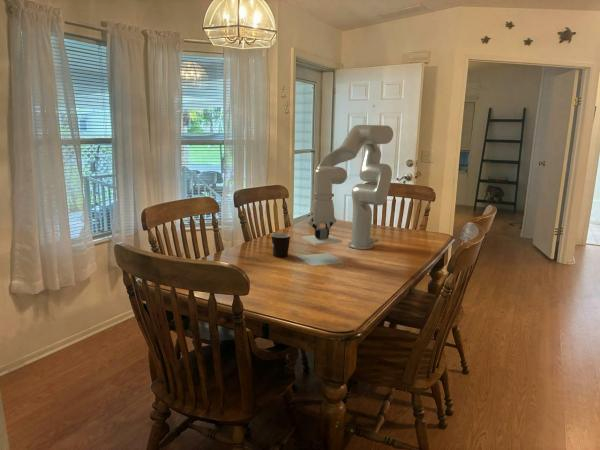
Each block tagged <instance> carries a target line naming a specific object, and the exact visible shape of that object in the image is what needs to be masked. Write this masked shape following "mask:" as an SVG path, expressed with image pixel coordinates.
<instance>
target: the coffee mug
mask: <svg viewBox="0 0 600 450" xmlns="http://www.w3.org/2000/svg"><path fill="white" fill-rule="evenodd" d="M270 238H271V245H272V247H271V248H272V256H273V257H274V258H277V259H279V258H280V259H281V258H287V257H288V255H289V247H290V243H291V242H290V241H291V235H290V234H288V233H283V232H277V233H272V234H271V237H270Z"/></svg>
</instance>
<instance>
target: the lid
mask: <svg viewBox="0 0 600 450" xmlns="http://www.w3.org/2000/svg"><path fill="white" fill-rule="evenodd" d="M319 230H320V239H317V238H316V237H315V234H310V235H303V236H302V240H304V241H305V242H308V243H309V244H311V245H313V246H315V247H317V246H324V245H325V246H326V245H327V246H328V245H334V244H335V245H336V244H342V242H343V241H342V239H339V238H338V237H336V236H334V235H331V234H330V233H329V236H328V238H327V232H328V229H326V228H325V226H324V227H319Z"/></svg>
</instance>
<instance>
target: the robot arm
mask: <svg viewBox="0 0 600 450" xmlns="http://www.w3.org/2000/svg"><path fill="white" fill-rule="evenodd" d="M393 138H394V131H393V128H392V127H391V126H389V125H381V124H380V125H378V124H377V125H376V124H356V125H354V126H353V127H352V128H351V129H350V130H349V132H348V133H347V135H346V137H345V139H344V140H343V142H341V144H340V146H339V147H338V148H335V149H334V150H333V151H331V152H330V153H327V154H326V155H325V157H323V158H322V159H321V161H320V163H319V164H318V166H317V168H316V169H315V170H314V181H313V182H314V183H313V185H314V186H313V187H314V188H313V189H314V190H313V195H314V196H313V199H312V200H311V204H310V209H309V210H310V212H309V220H308V221H307V224H308V225H309V226H311V227H312V228H313V229H314V235H315V237H316V238H317V239H320V230H319V228H320V226H321V224H324V228H326V229H328V232H327V238H328V236H329V234H330V229H331V227H332V226H333V225H334V224H336V223H337V219H336V217H335V205H334V201H333V199H332V198H333V197H335V194H334V193H333V192H332V191H333V190H332V189H333V187H332V186H333V185H342V184H343V183H345V182H346V181H347V179H348V172H347V171H346V169H345V168H343V167H340V166H336V165H338V164H343V163H346V162H349V161H352V160H354V159H355V158H356V157H357V156H358V154H359V153H360V151H361V148H363V156H362V161H361V166H360V168H359V178H360V180H361V181H363V182H366V183H357V184H355V185H354V186H353V187H352V189H351V199H352V223H351V241H350V242H348V243H347V246H348V247H349V248H350V249H355V250H371V249H372V248H374V243H379V240H380V239H379V238H374V237H372V223H373V222H372V221H373V220H372V219H373V210H372V207H371V206H372V205H373V206H383V205H384V204H385V203H386V201H387V198H388V196H389V195H388V194H389V190H390V187H391V182H392V177H393V172H392V171H393V170H392V167H391V166H390V165H389V164H387V163H381V158H382V151H381V148H380V146H379V145H387V144H390V142H392V140H393ZM367 182H368V183H367ZM369 183H376V184H369ZM370 205H371V206H370Z"/></svg>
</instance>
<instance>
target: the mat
mask: <svg viewBox="0 0 600 450" xmlns="http://www.w3.org/2000/svg"><path fill="white" fill-rule="evenodd" d="M297 258H299V259H300V260H302V261H303V262H305V263H306V264H308V265H309V266H311V267H315V266H316V267H317V266H325V265H326V266H327V265H333V264H334V265H335V264H343V263H344V264H345V261H343V260H341V259H339V258H337V257H336V256H334V255H332V254H331V253H330V252H323V253H315V254H313V253H312V254H303V255H297Z"/></svg>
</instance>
